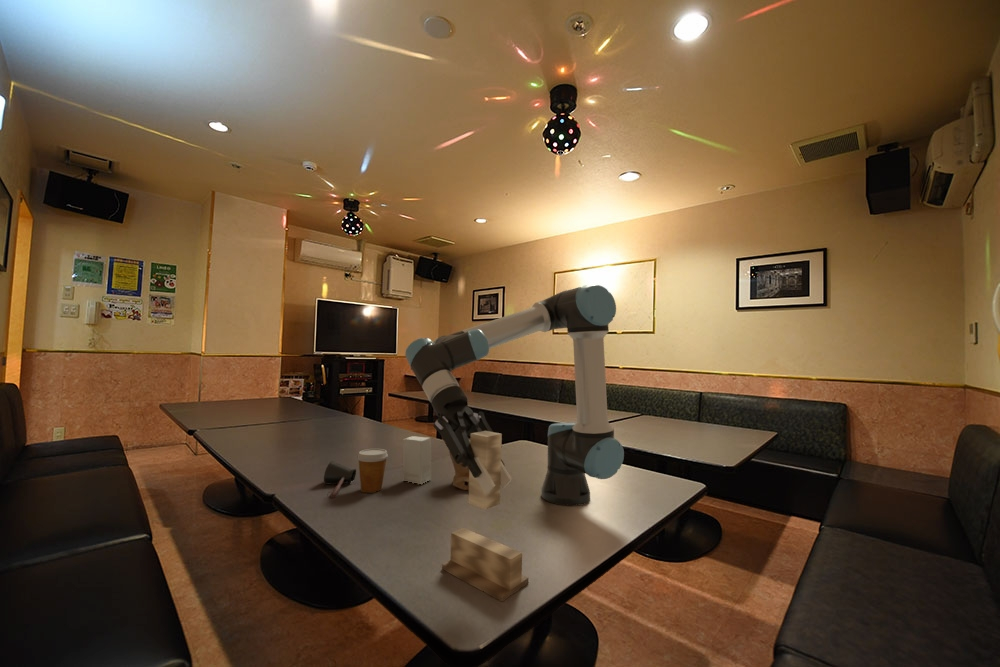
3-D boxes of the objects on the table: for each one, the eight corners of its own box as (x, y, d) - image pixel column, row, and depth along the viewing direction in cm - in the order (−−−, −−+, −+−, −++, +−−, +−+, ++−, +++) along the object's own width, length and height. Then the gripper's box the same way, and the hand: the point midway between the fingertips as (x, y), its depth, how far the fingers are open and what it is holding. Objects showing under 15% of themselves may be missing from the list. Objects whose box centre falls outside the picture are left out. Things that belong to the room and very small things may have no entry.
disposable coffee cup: (393, 488, 129) (394, 451, 130) (369, 497, 121) (370, 456, 122) (373, 483, 135) (374, 446, 135) (349, 490, 127) (350, 452, 127)
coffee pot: (331, 478, 138) (355, 482, 138) (306, 504, 120) (334, 509, 120) (334, 457, 137) (358, 461, 137) (309, 480, 119) (337, 485, 119)
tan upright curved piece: (449, 477, 143) (451, 434, 144) (483, 477, 143) (484, 435, 144) (444, 491, 128) (445, 444, 129) (481, 492, 128) (482, 445, 129)
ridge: (442, 569, 82) (443, 536, 82) (469, 554, 88) (470, 524, 88) (502, 601, 71) (502, 564, 72) (528, 582, 77) (529, 548, 78)
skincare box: (431, 481, 138) (432, 437, 139) (419, 485, 133) (421, 440, 134) (412, 477, 142) (414, 434, 143) (400, 481, 137) (402, 437, 138)
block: (483, 498, 84) (485, 430, 84) (499, 503, 81) (501, 433, 82) (468, 503, 80) (470, 433, 81) (484, 509, 77) (486, 436, 78)
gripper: (464, 403, 98) (515, 487, 86) (405, 409, 85) (456, 509, 73) (481, 382, 95) (536, 467, 83) (422, 385, 82) (478, 486, 70)
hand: (499, 486), depth 78 cm, fingers closed on block, 4 cm apart
